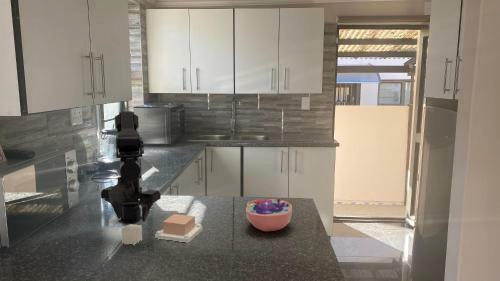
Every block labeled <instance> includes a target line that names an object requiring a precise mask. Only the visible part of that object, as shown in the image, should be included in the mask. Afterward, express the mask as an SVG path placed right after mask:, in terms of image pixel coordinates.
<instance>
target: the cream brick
mask: <svg viewBox="0 0 500 281" xmlns="http://www.w3.org/2000/svg"><path fill="white" fill-rule="evenodd" d="M140 240H141V241H143V225H141V224H134V223H128V224H127V225H126V226H124V227H123V228H121V242H122V243H124V245H129V244H133V245H132V246H136V245H137V244H138V243H140V242H141V241H140ZM139 241H140V242H139ZM137 242H138V243H137ZM122 243H121V244H122ZM136 243H137V244H136ZM135 244H136V245H135Z"/></svg>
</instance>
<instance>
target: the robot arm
mask: <svg viewBox="0 0 500 281" xmlns="http://www.w3.org/2000/svg"><path fill="white" fill-rule="evenodd" d="M134 112H135V111H130V110H128V111H125V110H124V111H123V110H122V111H119V114H116V115H115V116H114V129H115V130H117V132H116V133H117V138H115V152H116V156H115V158H116V159H119V172H120V177H119V176H118V177H117V182H116V184H115V185H109V186H107V187H106V188H103V189H101V192H100V198H101V199H103V200H104V201H105V202H108V203H109V204H110V206H111V207H112V209H113V212H114V213H115V215H116V217H117V219H118V222H120V223H124V224H125V223H126V224H134V223H137V222H138V221H139V220H142V223H145V222H146V221H147V219H148V216H149V214H150V211H151V208H152V207H153V205H154V203H156V202H158V201H159V200H161V192H160V191H159V190H157V189H147V190H146V191H143V187H142V186H140V185H141V184H140V179H142V178H143V177H142V174H141V166H140V163H139V162H140V159H139V158H143V155H144V153H145V148H144V140H143V138H142V137H140V135H139V131H138V129H139V127H140V124H139V121H140V120H139V116H138V115H137V114H135V113H134ZM140 206H141V207H140Z"/></svg>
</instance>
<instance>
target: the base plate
mask: <svg viewBox="0 0 500 281" xmlns="http://www.w3.org/2000/svg"><path fill="white" fill-rule="evenodd" d="M203 229H204V228H203V225H202V224H201V223H196V216H193V215H187V214H185V215H184V214H177V213H174V214H172V215H170V216H169V217H168V218H166V219H165V220H163V222H162V229H161V230H157V231H156V233H154V239H155V238H158V239H157V240H159V239H165V240H164V241H166V240H173V241H172V242H174V241H179V242H178V243H181V242H186V243H185V244H189V243H191V241H193V239H194V238H196V237H197V235H199V234H200V233H201V232H203ZM195 236H196V237H195ZM188 242H189V243H188Z"/></svg>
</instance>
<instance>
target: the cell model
mask: <svg viewBox="0 0 500 281" xmlns="http://www.w3.org/2000/svg"><path fill="white" fill-rule="evenodd" d="M245 212H246V219H247V220H248V221H249V222H250V224H251V225H252V226H253V227H254V228H256V229H258V230H259V231H260V232H273V231H278V230H282V229H283V228H285V227H286V226H287V225H288V224H289V222H290V221H291V218H292V214H293V205H292V204H291V203H289V202H288V201H286V200H283V199H280V198H268V199H267V198H266V199H255V200H252V201H248V202H247V203H246V208H245Z"/></svg>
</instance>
